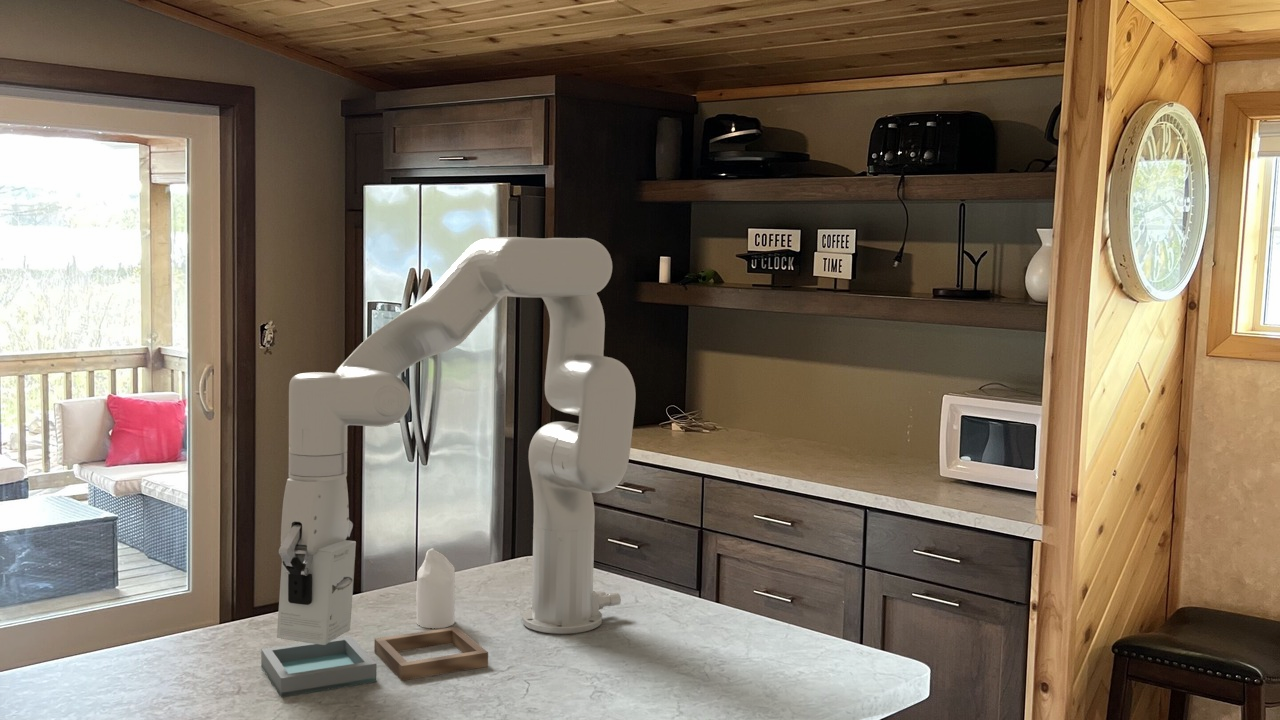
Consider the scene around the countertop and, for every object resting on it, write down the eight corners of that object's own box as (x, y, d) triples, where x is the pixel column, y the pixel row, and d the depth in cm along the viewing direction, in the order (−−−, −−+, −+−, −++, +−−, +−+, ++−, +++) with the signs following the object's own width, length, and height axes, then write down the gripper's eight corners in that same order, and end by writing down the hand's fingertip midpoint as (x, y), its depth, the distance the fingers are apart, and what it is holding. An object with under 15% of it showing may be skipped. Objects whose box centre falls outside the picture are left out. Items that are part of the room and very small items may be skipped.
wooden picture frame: (456, 639, 169) (456, 626, 169) (487, 666, 158) (488, 652, 158) (374, 652, 163) (374, 638, 163) (401, 680, 152) (401, 666, 152)
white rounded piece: (460, 544, 178) (448, 553, 172) (459, 619, 179) (447, 630, 173) (423, 542, 179) (410, 550, 173) (422, 616, 180) (410, 627, 174)
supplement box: (326, 646, 149) (332, 551, 148) (274, 638, 150) (280, 544, 149) (352, 631, 156) (357, 540, 155) (302, 624, 157) (308, 534, 157)
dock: (351, 653, 162) (351, 636, 162) (376, 681, 151) (376, 663, 151) (261, 666, 156) (261, 648, 156) (281, 697, 145) (281, 678, 145)
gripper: (327, 453, 161) (326, 575, 162) (254, 474, 144) (254, 610, 145) (375, 457, 159) (374, 581, 160) (307, 478, 142) (306, 616, 143)
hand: (317, 594), depth 153 cm, fingers closed on supplement box, 7 cm apart
